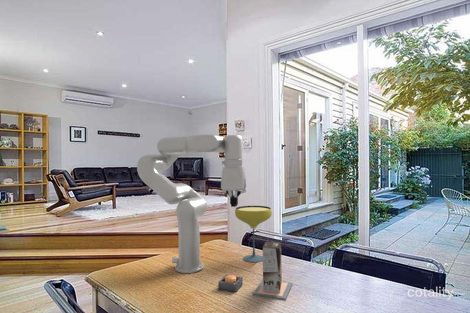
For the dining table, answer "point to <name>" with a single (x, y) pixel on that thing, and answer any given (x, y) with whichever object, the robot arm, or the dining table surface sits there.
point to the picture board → (282, 295)
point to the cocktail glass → (253, 223)
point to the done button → (230, 279)
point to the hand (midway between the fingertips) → (234, 206)
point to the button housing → (230, 284)
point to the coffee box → (272, 267)
